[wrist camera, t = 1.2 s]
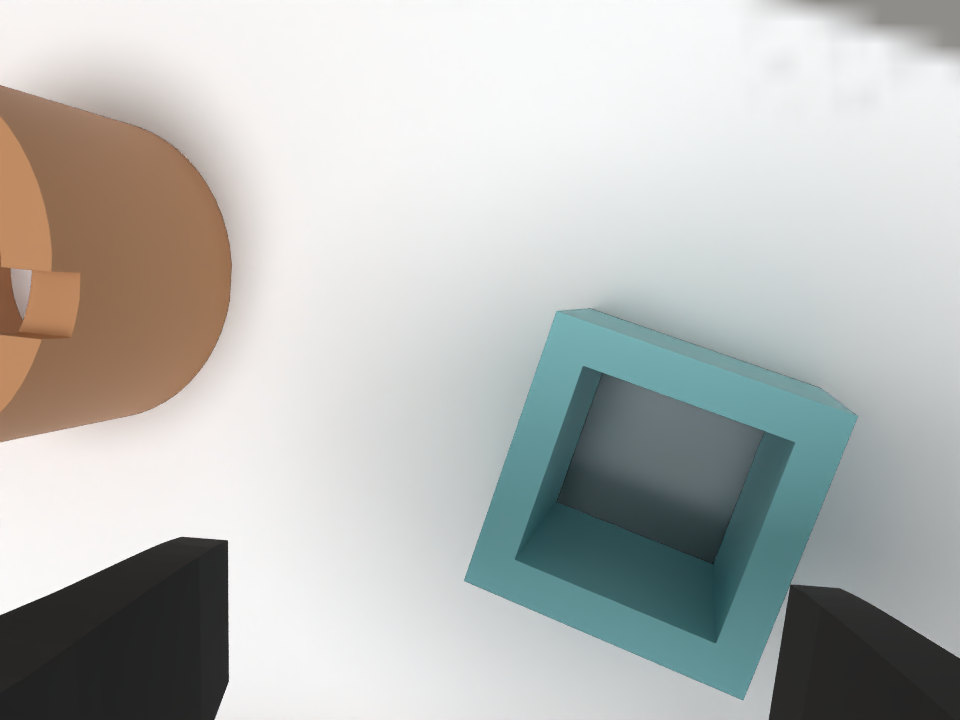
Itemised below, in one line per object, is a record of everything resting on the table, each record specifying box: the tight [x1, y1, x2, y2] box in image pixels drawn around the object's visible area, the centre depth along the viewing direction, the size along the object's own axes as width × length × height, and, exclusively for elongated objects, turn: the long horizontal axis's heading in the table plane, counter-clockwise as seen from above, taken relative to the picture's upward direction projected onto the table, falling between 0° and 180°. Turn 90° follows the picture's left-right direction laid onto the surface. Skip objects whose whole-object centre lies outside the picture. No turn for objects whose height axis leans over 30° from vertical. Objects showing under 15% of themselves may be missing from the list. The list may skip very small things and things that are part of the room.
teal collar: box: [464, 309, 858, 700], centre depth 19 cm, size 6×6×5 cm
